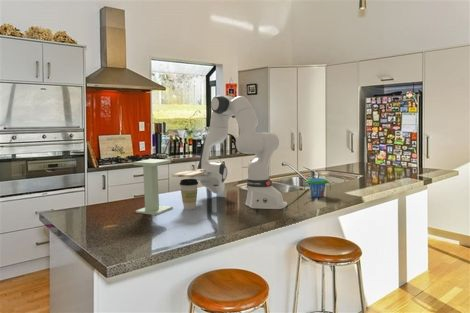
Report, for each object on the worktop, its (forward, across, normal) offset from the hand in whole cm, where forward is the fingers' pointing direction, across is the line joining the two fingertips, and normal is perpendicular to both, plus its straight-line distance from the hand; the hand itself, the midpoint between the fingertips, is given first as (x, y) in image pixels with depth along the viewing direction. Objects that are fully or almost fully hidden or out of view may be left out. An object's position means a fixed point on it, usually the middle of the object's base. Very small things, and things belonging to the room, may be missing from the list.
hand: (197, 170), depth 204 cm
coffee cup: (-2, 0, +21) cm, 21 cm away
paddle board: (+3, 0, +3) cm, 4 cm away
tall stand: (+8, -14, +26) cm, 31 cm away
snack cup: (-47, +56, -5) cm, 73 cm away
